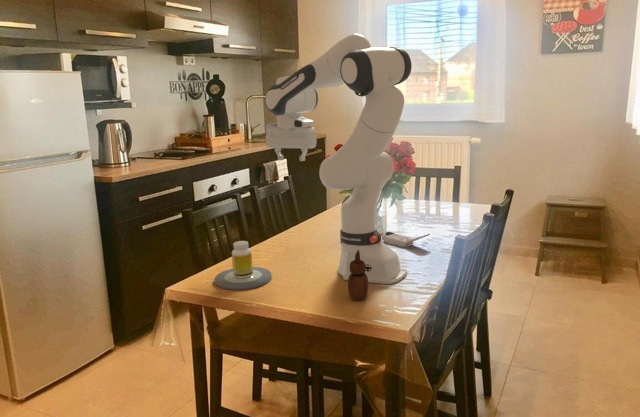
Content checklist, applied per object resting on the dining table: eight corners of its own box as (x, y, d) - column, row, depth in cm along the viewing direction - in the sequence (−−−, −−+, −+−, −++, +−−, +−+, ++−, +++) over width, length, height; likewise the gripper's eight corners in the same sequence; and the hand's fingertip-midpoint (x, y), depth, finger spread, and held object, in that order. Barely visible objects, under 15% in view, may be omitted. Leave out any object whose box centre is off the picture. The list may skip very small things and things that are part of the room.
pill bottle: (256, 275, 171) (254, 242, 168) (240, 280, 167) (237, 246, 164) (245, 271, 175) (243, 238, 173) (229, 275, 171) (227, 242, 169)
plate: (282, 274, 174) (282, 271, 174) (247, 294, 159) (247, 289, 159) (239, 267, 183) (239, 263, 183) (203, 284, 168) (202, 280, 168)
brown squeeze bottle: (367, 303, 149) (366, 252, 146) (346, 302, 150) (345, 251, 147) (369, 293, 156) (368, 244, 152) (350, 293, 157) (348, 244, 154)
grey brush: (421, 236, 191) (369, 225, 209) (421, 252, 192) (369, 239, 210) (431, 233, 195) (379, 222, 213) (430, 248, 196) (379, 236, 214)
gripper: (260, 123, 194) (263, 160, 197) (308, 122, 183) (310, 162, 186) (271, 121, 199) (273, 158, 202) (317, 121, 189) (319, 160, 191)
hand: (291, 160), depth 194 cm, fingers open, 8 cm apart
